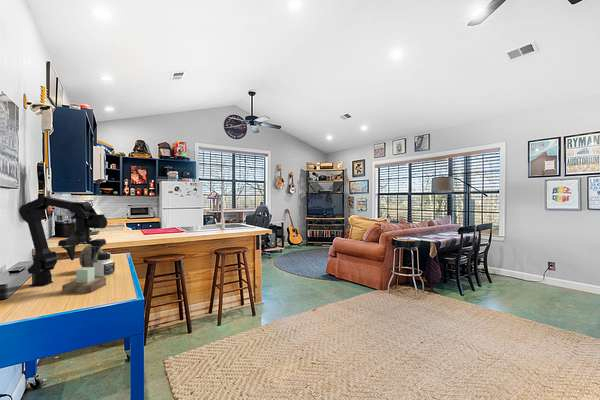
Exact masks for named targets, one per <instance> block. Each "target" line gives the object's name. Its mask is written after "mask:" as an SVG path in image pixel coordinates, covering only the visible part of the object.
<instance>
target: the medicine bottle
mask: <svg viewBox="0 0 600 400" xmlns="http://www.w3.org/2000/svg"><path fill="white" fill-rule="evenodd" d="M111 257H112V255H111V252H104V253H100V254H98V255H97V261H98V262H96V263H93V267H95V277H97V278H107V277H109V276H111V275H115V272H116V271H115V269H116V267H115V266H116V265H115V264H116V263H115V260H111V259H112V258H111Z"/></svg>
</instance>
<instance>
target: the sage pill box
mask: <svg viewBox="0 0 600 400" xmlns="http://www.w3.org/2000/svg"><path fill="white" fill-rule="evenodd" d="M95 278H96V276H95V267H81V268H78V269H75V280H76V283H89V282H91V281H93V280H95Z"/></svg>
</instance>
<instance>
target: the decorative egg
mask: <svg viewBox="0 0 600 400" xmlns="http://www.w3.org/2000/svg"><path fill="white" fill-rule="evenodd" d="M90 247H92V246H91V244H87V245H86V246H84V248H83V249H82V250H81V252H80V254H79V258H78V259H79V265H80V267H81V268H83V267H93V263H96V262H98V261H97V255H98V254H100V253H105V252H104V250H103V249H102V248H100V249H99V251H98V252H97V254H96V256H95V258H94V260H91V251H92V250H91V248H90Z"/></svg>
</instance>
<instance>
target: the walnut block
mask: <svg viewBox="0 0 600 400" xmlns="http://www.w3.org/2000/svg"><path fill="white" fill-rule="evenodd" d="M106 285H107V277H95V280H93V281H91V282H89V283H76V279H74V280H72V281H70V282H67V283H65V284H63V285H61V289H62V290H61V294H92V293H93V292H96V291H97V290H99V289H101V288H103V287H105V286H106Z"/></svg>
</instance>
